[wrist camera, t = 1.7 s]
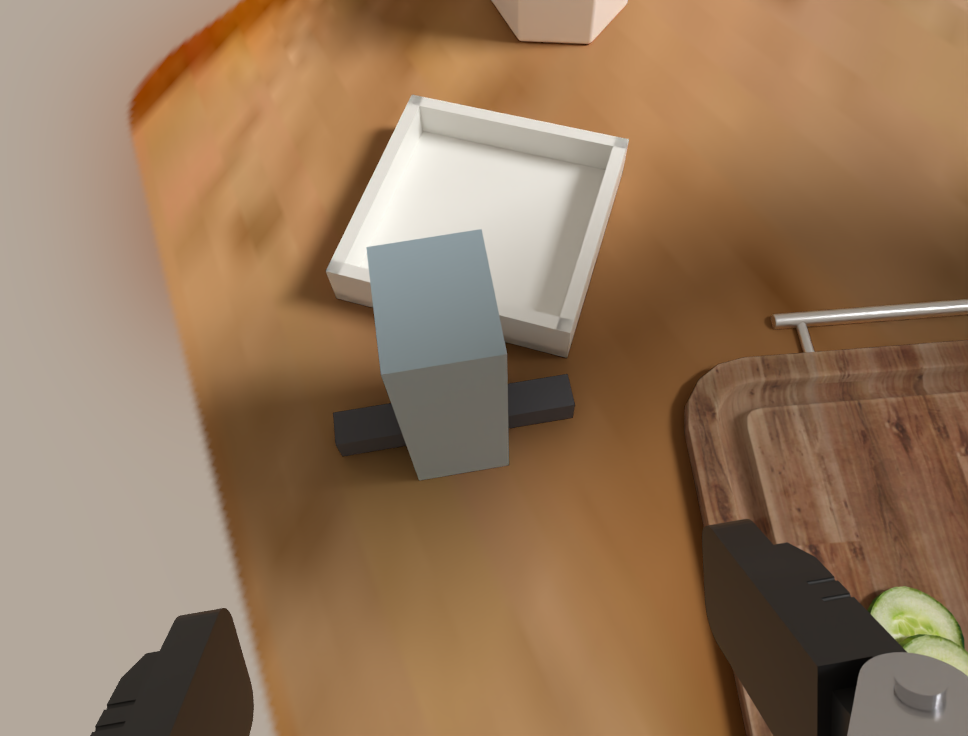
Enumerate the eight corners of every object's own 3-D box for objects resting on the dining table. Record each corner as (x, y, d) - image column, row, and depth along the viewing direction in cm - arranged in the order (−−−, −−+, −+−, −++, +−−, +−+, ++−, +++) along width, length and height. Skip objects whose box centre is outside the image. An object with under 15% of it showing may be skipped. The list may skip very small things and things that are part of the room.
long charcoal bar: (565, 387, 36) (567, 373, 35) (572, 417, 35) (574, 404, 34) (340, 425, 35) (333, 412, 34) (342, 456, 35) (335, 444, 33)
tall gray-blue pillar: (490, 366, 37) (481, 229, 27) (508, 465, 34) (507, 354, 24) (405, 380, 36) (366, 246, 27) (419, 480, 34) (380, 375, 24)
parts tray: (417, 127, 44) (411, 94, 42) (622, 171, 42) (628, 139, 40) (336, 298, 39) (325, 271, 36) (567, 358, 37) (570, 333, 34)
